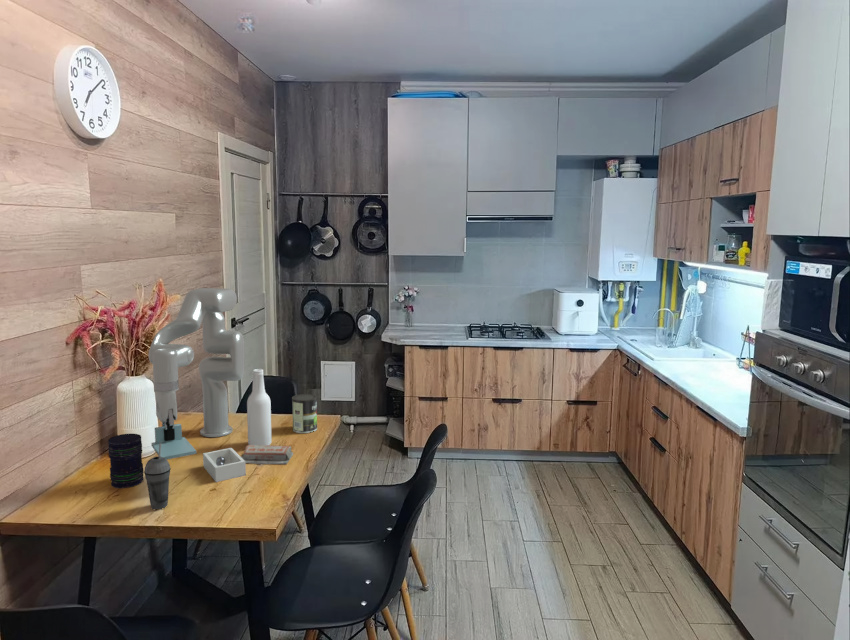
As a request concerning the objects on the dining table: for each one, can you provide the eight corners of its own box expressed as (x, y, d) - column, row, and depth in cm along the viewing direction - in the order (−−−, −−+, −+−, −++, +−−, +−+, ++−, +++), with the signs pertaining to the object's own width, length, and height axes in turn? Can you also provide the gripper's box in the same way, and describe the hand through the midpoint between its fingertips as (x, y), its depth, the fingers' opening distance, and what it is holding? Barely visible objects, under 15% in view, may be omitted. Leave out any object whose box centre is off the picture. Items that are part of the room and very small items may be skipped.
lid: (151, 445, 193) (150, 428, 192) (184, 439, 199) (183, 422, 198) (161, 460, 181) (160, 442, 180) (196, 453, 187) (195, 435, 186)
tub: (203, 466, 205) (202, 453, 204) (232, 460, 210) (231, 447, 210) (215, 482, 193) (215, 467, 192) (245, 475, 198) (245, 461, 198)
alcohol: (270, 439, 232) (268, 366, 228) (272, 447, 224) (271, 371, 219) (247, 442, 229) (245, 368, 224) (249, 450, 221) (247, 373, 216)
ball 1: (215, 464, 205) (214, 456, 204) (223, 462, 207) (223, 454, 206) (217, 467, 202) (217, 459, 202) (226, 465, 204) (226, 457, 204)
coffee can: (319, 425, 250) (319, 393, 248) (314, 433, 240) (314, 400, 237) (295, 425, 250) (295, 393, 248) (289, 433, 240) (289, 400, 238)
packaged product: (293, 443, 217) (286, 453, 207) (293, 455, 218) (286, 466, 208) (245, 441, 217) (236, 451, 208) (246, 453, 218) (237, 464, 208)
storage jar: (105, 482, 191) (102, 438, 189) (135, 473, 198) (133, 431, 196) (118, 491, 185) (115, 446, 182) (149, 481, 192) (147, 438, 190)
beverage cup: (146, 503, 177) (142, 440, 174) (172, 499, 180) (169, 437, 177) (145, 514, 170) (141, 449, 167) (172, 509, 173) (169, 445, 170)
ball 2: (214, 469, 201) (213, 461, 200) (222, 467, 203) (222, 459, 202) (216, 472, 198) (216, 463, 198) (225, 470, 200) (225, 462, 200)
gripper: (149, 382, 197) (151, 434, 199) (159, 392, 184) (161, 448, 187) (172, 379, 201) (175, 430, 204) (184, 389, 188) (186, 444, 191)
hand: (168, 438), depth 195 cm, fingers closed on lid
